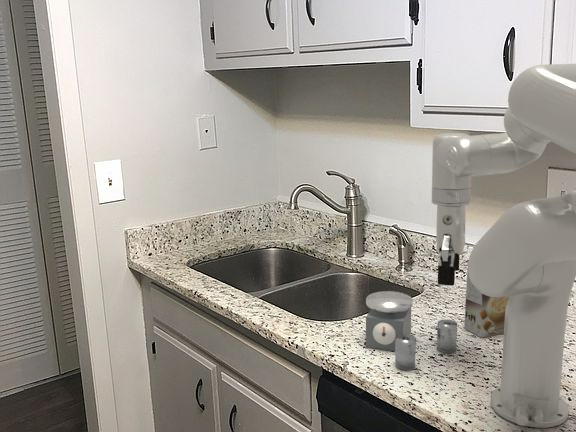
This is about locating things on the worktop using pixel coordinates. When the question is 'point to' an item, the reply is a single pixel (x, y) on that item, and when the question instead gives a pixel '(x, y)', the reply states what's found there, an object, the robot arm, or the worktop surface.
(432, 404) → the worktop surface
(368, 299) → the pan
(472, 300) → the printed food package
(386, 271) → the worktop surface
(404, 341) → the cylinder
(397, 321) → the scale
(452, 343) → the cylinder
